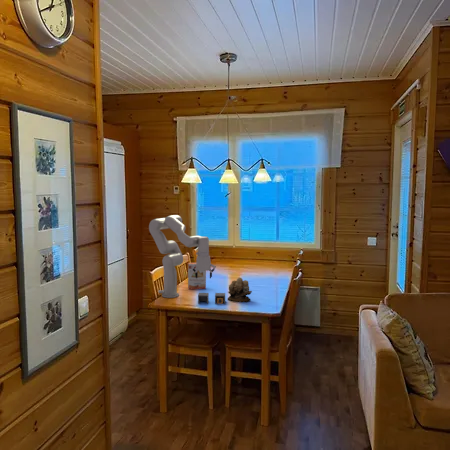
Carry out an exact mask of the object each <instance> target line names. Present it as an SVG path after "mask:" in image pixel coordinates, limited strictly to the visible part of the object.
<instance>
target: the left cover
mask: <svg viewBox="0 0 450 450" xmlns="http://www.w3.org/2000/svg"><path fill="white" fill-rule="evenodd" d="M209 296H210V294H209V292H199V293H198V294H197V304H198V305H199V304H200V302H206V303H207V305H208V304H209V300H210V298H209Z"/></svg>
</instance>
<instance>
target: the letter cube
mask: <svg viewBox="0 0 450 450" xmlns="http://www.w3.org/2000/svg"><path fill="white" fill-rule="evenodd" d="M216 304H220V305H221V304H224V301H223V297H217V301H216Z"/></svg>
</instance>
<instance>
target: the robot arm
mask: <svg viewBox="0 0 450 450" xmlns="http://www.w3.org/2000/svg"><path fill="white" fill-rule="evenodd" d="M167 229H170V230H171V231H173V232H174V233H175V234H176V236H177V238H178V239H177V240H179V242H180V243H181V244H183V245H184V246H185V247H187V248H192V247H197V252H196V253H195V254H196V255H197V256H196V260H195V261H196V262H195V263H196V264H195V265H193V266H192V267H191V268H192V269H193V271H194V272H195V277H196V278H198V272H197V271H198V270H199V271H206V272H208V271H209V279H211V278H212V277H213V273H214V272H215V269H216V265H214V264H212V263H211V256H210V251H209V250H210V247H209V246H210V245H209V244H210V241H209V240H210V239H209V237H208V236H201V235H192V236H191V235H188V234H187V233H185V231H186V229H187V228H186V224H183V218H182V217H181V215H178V214H173V215H172V214H171V215H168V216H166V217H160V218H154V219H151V221H150V222H149V225H148V231H149V233H150V235H151V237H152V238H153V241H154V242H155V244H156V247H157V249H158V250H159V253H160V254H162V255H165V256H163V258H162V261H161V262H162V266H163V289H162V290H161V289H159V290H158V291H157V292H158V293H159V294H161V296H162V298H167V299H169V298H170V299H172V298H173V299H174V298H178V297H179V296H180V294H179V292H178V290H177V289H178V286H177V285H178V282H177V281H178V279H177V278H178V275H177V269H176V267H177V266H179V265H182V264H183V262H184V256H183V253H182V251H181V249H180V247H179V244H178V243H177V242H176V241H175V240H173V239H172V240H171V239H170V240H168V239H167V238H166V235H165V234H164V232H163V231H162V230H167ZM195 266H196V270H195V269H194V267H195Z"/></svg>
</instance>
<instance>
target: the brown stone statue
mask: <svg viewBox="0 0 450 450" xmlns="http://www.w3.org/2000/svg"><path fill="white" fill-rule="evenodd" d="M228 290H229V291H227V293H228V294H229V296H228V297H227V301H229V302H233V303H248V302H251V298H250V297H249V296H250V295H251V294H252V293H253V291H252V290H250V286H249V281H248V280H246V279H245V280H243V278H242V277H240V276H239V277H238V278H236V280H232V281H231V283H230V284H229V285H228Z"/></svg>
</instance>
